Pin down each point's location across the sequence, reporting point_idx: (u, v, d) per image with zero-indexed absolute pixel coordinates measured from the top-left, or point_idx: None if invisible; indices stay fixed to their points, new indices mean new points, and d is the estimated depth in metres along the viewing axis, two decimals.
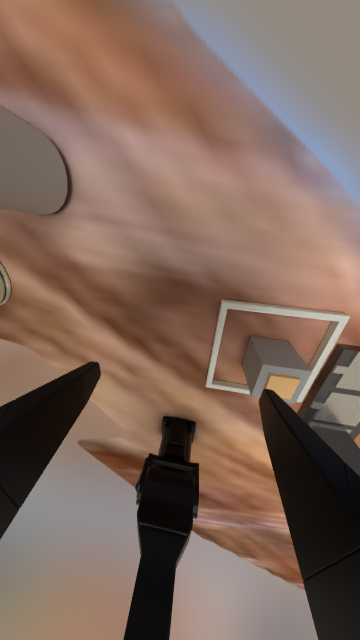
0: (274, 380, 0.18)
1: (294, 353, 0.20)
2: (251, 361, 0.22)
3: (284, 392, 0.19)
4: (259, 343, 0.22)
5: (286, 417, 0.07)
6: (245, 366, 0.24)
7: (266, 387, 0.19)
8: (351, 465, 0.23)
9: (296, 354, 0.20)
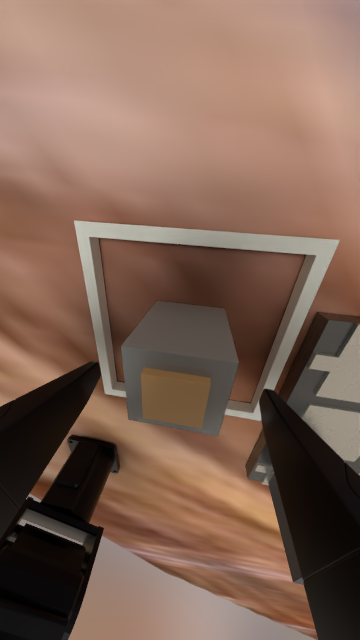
0: (152, 385, 0.08)
1: (221, 326, 0.10)
2: None
3: (184, 413, 0.08)
4: (161, 310, 0.11)
5: (286, 417, 0.07)
6: None
7: (143, 401, 0.08)
8: None
9: (224, 329, 0.09)
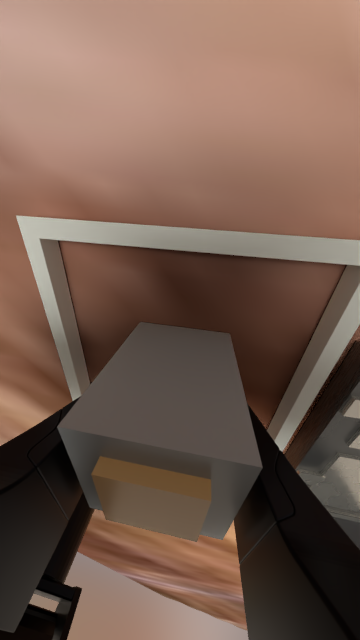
0: (113, 489, 0.04)
1: (226, 370, 0.07)
2: None
3: (168, 524, 0.05)
4: (143, 340, 0.08)
5: None
6: None
7: (103, 502, 0.05)
8: None
9: (230, 375, 0.06)
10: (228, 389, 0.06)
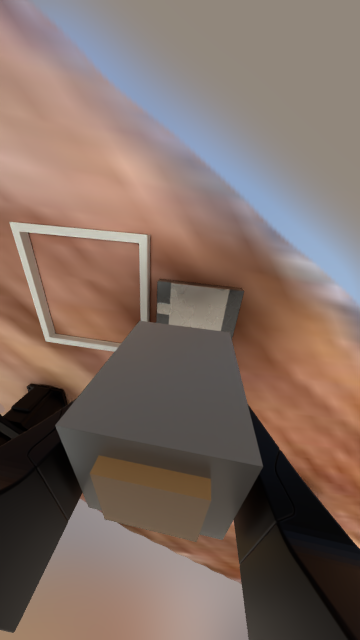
0: (112, 489, 0.04)
1: (226, 369, 0.06)
2: None
3: (167, 524, 0.05)
4: (142, 339, 0.08)
5: None
6: None
7: (102, 502, 0.05)
8: None
9: (230, 374, 0.06)
10: (228, 388, 0.06)
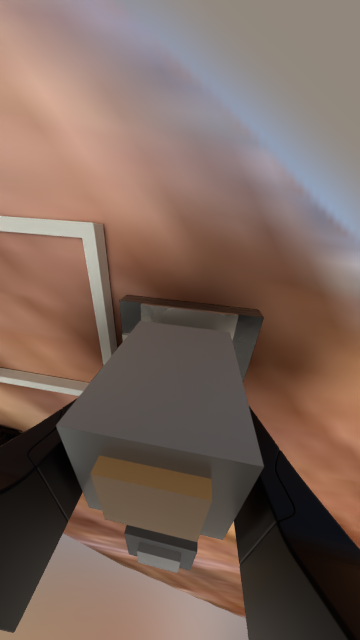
0: (113, 489, 0.04)
1: (227, 369, 0.06)
2: None
3: (168, 524, 0.05)
4: (142, 339, 0.08)
5: None
6: None
7: (103, 502, 0.05)
8: None
9: (231, 374, 0.06)
10: (229, 388, 0.06)
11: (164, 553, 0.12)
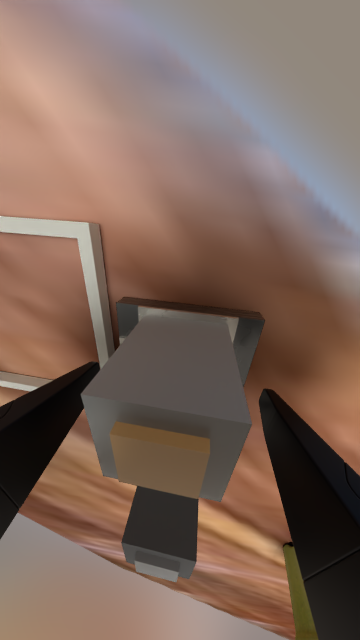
0: (127, 448, 0.05)
1: (224, 354, 0.07)
2: None
3: (173, 481, 0.06)
4: (148, 329, 0.09)
5: (286, 417, 0.07)
6: None
7: (117, 464, 0.06)
8: (157, 526, 0.12)
9: (227, 357, 0.07)
10: (225, 368, 0.07)
11: (162, 563, 0.11)
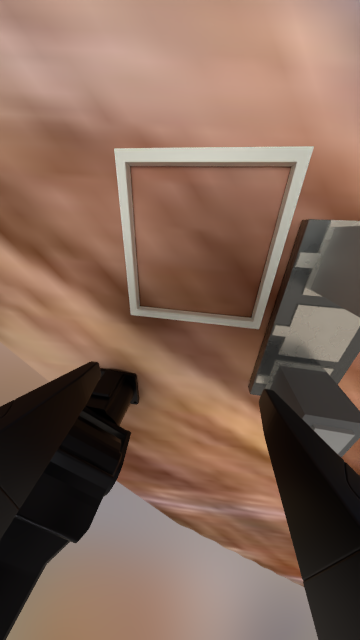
0: None
1: None
2: (348, 262, 0.12)
3: None
4: None
5: (286, 417, 0.07)
6: (325, 285, 0.14)
7: None
8: (325, 407, 0.15)
9: None
10: None
11: (338, 430, 0.14)
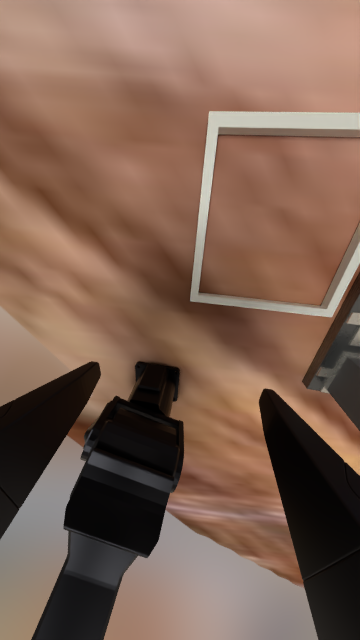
0: None
1: None
2: None
3: None
4: None
5: (286, 417, 0.07)
6: None
7: None
8: None
9: None
10: None
11: None
